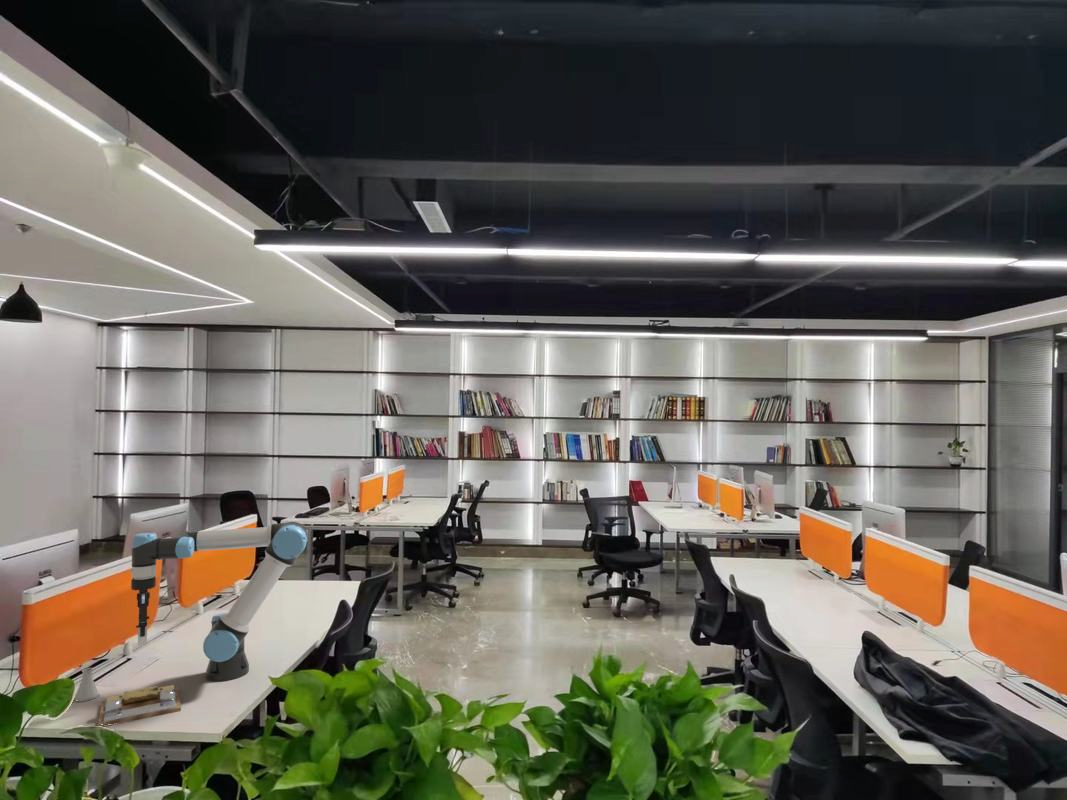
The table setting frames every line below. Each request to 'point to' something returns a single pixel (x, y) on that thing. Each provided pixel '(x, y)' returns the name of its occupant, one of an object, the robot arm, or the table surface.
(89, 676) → the flask
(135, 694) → the gold silver metal bar
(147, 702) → the board
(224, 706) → the table surface
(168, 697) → the fixed leaf
